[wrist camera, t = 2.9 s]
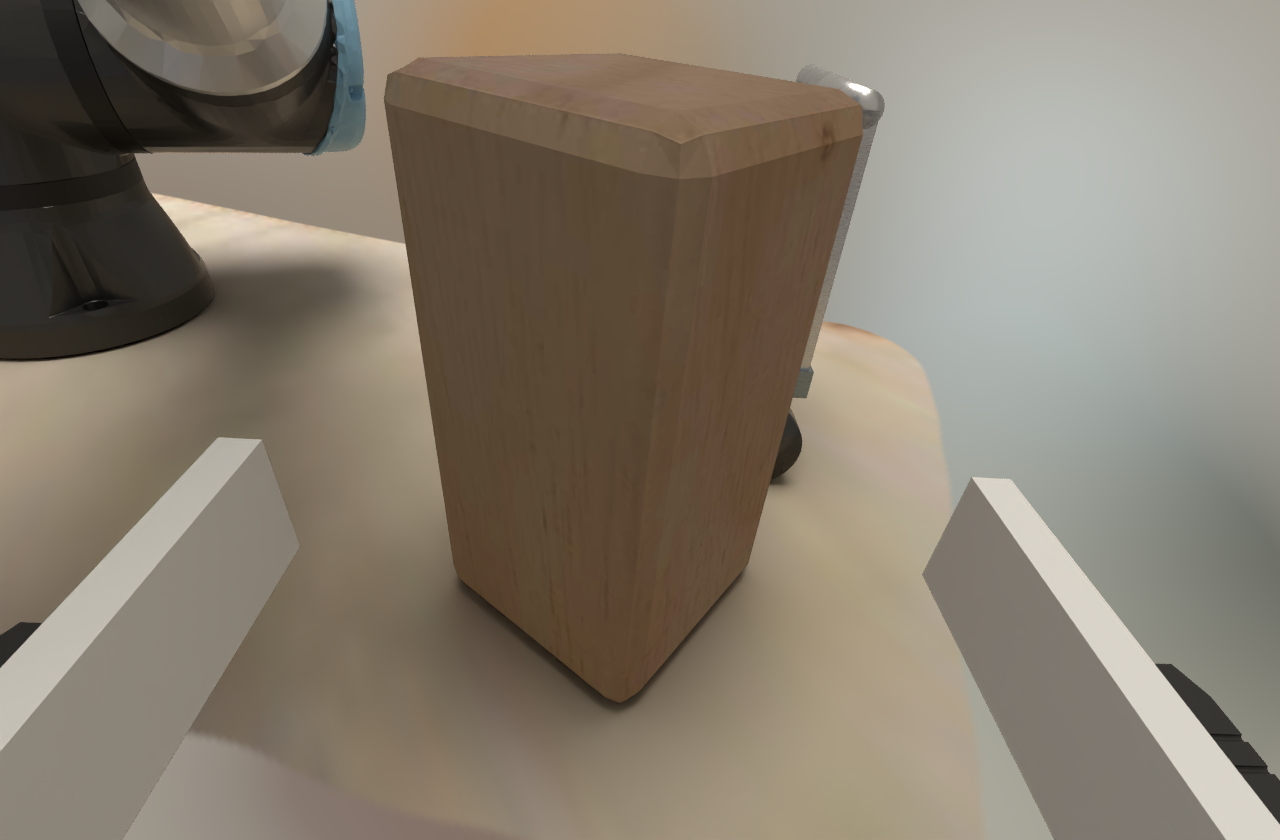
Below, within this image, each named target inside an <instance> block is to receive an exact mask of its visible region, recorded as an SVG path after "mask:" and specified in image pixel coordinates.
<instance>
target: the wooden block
mask: <svg viewBox="0 0 1280 840" xmlns="http://www.w3.org/2000/svg"><path fill="white" fill-rule="evenodd" d="M384 103H385V109H386V116H387V123H388V130H389V136H390V143H391V149H392V156H393V163H394V170H395V176H396V183H397V189H398V196H399V202H400V209H401V216H402V223H403V229H404V236H405V242H406V250H407V256H408V263H409V269H410V276H411V283H412V289H413V296H414V303H415V309H416V316H417V323H418V329H419V336H420V343H421V349H422V356H423V363H424V369H425V376H426V383H427V389H428V396H429V403H430V409H431V416H432V423H433V429H434V436H435V443H436V449H437V456H438V463H439V469H440V476H441V483H442V489H443V496H444V502H445V509H446V516H447V522H448V529H449V536H450V542H451V549H452V556H453V562H454V566H455V569H456V571H457V574H458V576H459V578H460V579H461V580H462V581H463V582H465V583H466V584H467V585H468V586H469V587H470V588H472V589H473V590H474V591H475V592H477V593H478V594H479V595H480V596H481V597H483V598H484V599H485V600H486V601H488V602H489V603H490V604H491V605H492V606H494V607H495V608H496V609H497V610H499V611H500V612H501V613H502V614H504V615H505V616H506V617H507V618H508V619H510V620H511V621H512V622H513V623H515V624H516V625H517V626H518V627H519V628H521V629H522V630H523V631H524V632H526V633H527V634H528V635H529V636H530V637H532V638H533V639H534V640H535V641H537V642H538V643H539V644H540V645H542V646H543V647H544V648H545V649H546V650H548V651H549V652H550V653H551V654H553V655H554V656H555V657H556V658H557V659H559V660H560V661H561V662H562V663H564V664H565V665H566V666H567V667H569V668H570V669H571V670H572V671H573V672H575V673H576V674H577V675H578V676H580V677H581V678H582V679H583V680H584V681H586V682H587V683H588V684H589V685H591V686H592V687H593V688H594V689H596V690H597V691H598V692H599V693H600V694H602V695H603V696H604V697H605V698H607V699H610V700H613V701H615V702H618V703H622V702H624V701H625V700H627V699H629V698H630V697H632V696H633V695H635V694H636V693H638V692H639V691H640V690H641V689H642V688H643V687H644V686H645V684H646V683H647V682H648V681H649V680H650V678H651V677H652V676H653V675H654V674H655V673H656V671H657V670H658V669H659V668H660V667H661V666H662V664H663V663H664V662H665V661H666V660H667V658H668V657H669V656H670V655H671V654H672V653H673V651H674V650H675V649H676V648H677V647H678V646H679V644H680V643H681V642H682V641H683V640H684V638H685V637H686V636H687V635H688V634H689V633H690V631H691V630H692V629H693V628H694V627H695V626H696V624H697V623H698V622H699V621H700V620H701V619H702V617H703V616H704V615H705V614H706V613H707V611H708V610H709V609H710V608H711V607H712V606H713V604H714V603H715V602H716V601H717V600H718V599H719V597H720V596H721V595H722V594H723V593H724V591H725V590H726V589H727V588H728V587H729V586H730V584H731V583H732V582H733V581H734V580H735V579H736V577H737V576H738V575H739V574H740V573H741V571H742V570H743V569H744V568H745V567H746V566H747V564H748V562H749V558H750V554H751V551H752V547H753V543H754V539H755V536H756V532H757V528H758V525H759V521H760V517H761V513H762V510H763V506H764V502H765V498H766V495H767V491H768V487H769V484H770V480H771V476H772V472H773V469H774V465H775V461H776V457H777V454H778V450H779V446H780V442H781V439H782V435H783V431H784V428H785V424H786V420H787V416H788V413H789V409H790V405H791V401H792V398H793V394H794V390H795V387H796V383H797V379H798V375H799V372H800V368H801V364H802V360H803V357H804V353H805V349H806V346H807V342H808V338H809V334H810V331H811V327H812V323H813V319H814V316H815V312H816V308H817V304H818V301H819V297H820V293H821V290H822V286H823V282H824V278H825V275H826V271H827V267H828V263H829V260H830V256H831V252H832V249H833V245H834V241H835V237H836V234H837V230H838V226H839V222H840V219H841V215H842V211H843V207H844V204H845V200H846V196H847V193H848V189H849V185H850V181H851V178H852V174H853V170H854V166H855V163H856V159H857V155H858V152H859V148H860V144H861V140H862V137H863V128H862V107H861V105H860V104H859V103H857V102H856V101H855V100H853V99H852V98H851V97H849V96H848V95H847V94H845V93H844V92H843V91H841V90H840V89H836V88H830V87H824V86H817V85H811V84H805V83H799V82H792V81H786V80H780V79H773V78H768V77H762V76H755V75H749V74H743V73H737V72H730V71H725V70H718V69H712V68H706V67H699V66H693V65H687V64H681V63H675V62H669V61H662V60H657V59H650V58H644V57H638V56H632V55H626V54H574V55H573V54H572V55H528V56H527V55H526V56H480V57H431V58H418V59H416V60H414V61H413V62H411V63H410V64H408V65H406V66H405V67H403V68H401V69H399V70H397V71H394V72H392V73H390V74H388V76H387V82H386V89H385V96H384Z"/></svg>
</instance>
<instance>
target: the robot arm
mask: <svg viewBox="0 0 1280 840" xmlns="http://www.w3.org/2000/svg"><path fill="white" fill-rule="evenodd" d="M363 77H364V69H363V59H362V49H361V42H360V33H359V27H358V19H357V14H356V8H355V2H354V0H0V358H19V359H22V358H45V357H56V356H65V355H73V354H80V353H86V352H92V351H97V350H102V349H107V348H111V347H115V346H120V345H123V344H127V343H131V342H134V341H138V340H141V339H144V338H147V337H150V336H153V335H156V334H159V333H161V332H164V331H166V330H169V329H171V328H173V327H175V326H177V325H179V324H181V323H183V322H185V321H187V320H189V319H190V318H192V317H194V316H195V315H197V314H198V313H199V312H201V311H202V310H203V309H204V308H205V307H206V306H207V305H208V304H209V303H210V301H211V300H212V298H213V295H214V288H213V285H212V283H211V280H210V277H209V274H208V271H207V268H206V266H205V264H204V262H203V260H202V258H201V257H200V256H199V255H198V254H197V253H196V252H195V251H194V250H193V249H192V248H191V247H190V246H189V244H188V243H187V241H186V240H185V238H184V237H183V236H182V234H181V233H180V231H179V230H178V229H177V227H176V226H175V224H174V223H173V222H172V220H171V219H170V218H169V216H168V215H167V214H166V212H165V211H164V210H163V209H162V207H161V206H160V205H159V203H158V202H157V201H156V200H155V198H154V197H153V196H152V194H151V193H150V191H149V190H148V188H147V186H146V184H145V181H144V179H143V176H142V174H141V171H140V168H139V166H138V163H137V161H136V158H135V156H134V153H303V154H304V155H307V156H308V155H312V156H314V155H320V154H322V153H323V152H338V151H348V150H351V149H353V148H355V147H356V146H357V145H358V144H359V143H360V142H361V140H362V138H363V135H364V131H365V120H366V118H365V117H366V105H365V94H364V89H363V83H364V80H363ZM299 548H300V545H299V542H298V539H297V536H296V534H295V531H294V528H293V525H292V522H291V519H290V517H289V514H288V511H287V508H286V505H285V503H284V500H283V497H282V494H281V491H280V489H279V486H278V483H277V480H276V477H275V474H274V472H273V469H272V466H271V463H270V460H269V458H268V455H267V452H266V449H265V446H264V443H263V441H262V440H261V439H242V438H223V437H218V438H217V439H216V440H215V441H214V442H213V443H212V444H211V445H210V446H209V447H208V448H207V450H206V451H205V452H204V453H203V454H202V455H201V456H200V457H199V458H198V459H197V460H196V461H195V462H194V463H193V464H192V465H191V467H190V468H189V469H188V470H187V471H186V472H185V473H184V474H183V475H182V476H181V477H180V478H179V479H178V480H177V481H176V482H175V483H174V485H173V486H172V487H171V488H170V489H169V490H168V491H167V492H166V493H165V494H164V495H163V496H162V497H161V498H160V499H159V500H158V501H157V503H156V504H155V505H154V506H153V507H152V508H151V509H150V510H149V511H148V512H147V513H146V514H145V515H144V516H143V517H142V518H141V519H140V521H139V522H138V523H137V524H136V525H135V526H134V527H133V528H132V529H131V530H130V531H129V532H128V533H127V534H126V535H125V536H124V538H123V539H122V540H121V541H120V542H119V543H118V544H117V545H116V546H115V547H114V548H113V549H112V550H111V551H110V552H109V553H108V554H107V556H106V557H105V558H104V559H103V560H102V561H101V562H100V563H99V564H98V565H97V566H96V567H95V568H94V569H93V570H92V571H91V572H90V574H89V575H88V576H87V577H86V578H85V579H84V580H83V581H82V582H81V583H80V584H79V585H78V586H77V587H76V588H75V589H74V590H73V592H72V593H71V594H70V595H69V596H68V597H67V598H66V599H65V600H64V601H63V602H62V603H61V604H60V605H59V606H58V607H57V609H56V610H55V611H54V612H53V613H52V614H51V615H50V616H49V617H48V618H47V619H46V620H45V621H44V622H43V623H26V622H20V623H19V624H17V625H16V626H14V627H13V628H11V629H10V630H8V631H7V632H5V633H4V634H2V635H1V636H0V840H122V839H123V838H124V836H125V834H126V833H127V831H128V829H129V828H130V826H131V824H132V823H133V821H134V819H135V818H136V816H137V814H138V813H139V811H140V810H141V808H142V806H143V805H144V803H145V801H146V799H147V798H148V796H149V795H150V793H151V792H152V790H153V788H154V787H155V785H156V783H157V782H158V780H159V778H160V777H161V775H162V773H163V772H164V770H165V768H166V767H167V765H168V763H169V762H170V760H171V759H172V757H173V755H174V754H175V752H176V750H177V749H178V747H179V745H180V744H181V742H182V740H183V739H184V737H185V736H186V734H187V732H188V731H189V729H190V727H191V726H192V724H193V722H194V721H195V719H196V717H197V716H198V714H199V712H200V711H201V709H202V708H203V706H204V704H205V703H206V701H207V699H208V698H209V696H210V694H211V693H212V691H213V689H214V688H215V686H216V684H217V683H218V681H219V680H220V678H221V676H222V675H223V673H224V671H225V670H226V668H227V666H228V665H229V663H230V661H231V660H232V658H233V656H234V655H235V653H236V651H237V650H238V648H239V647H240V645H241V643H242V642H243V640H244V638H245V637H246V635H247V633H248V632H249V630H250V628H251V627H252V625H253V623H254V622H255V620H256V619H257V617H258V615H259V614H260V612H261V610H262V609H263V607H264V605H265V604H266V602H267V600H268V599H269V597H270V595H271V594H272V592H273V591H274V589H275V587H276V586H277V584H278V582H279V581H280V579H281V577H282V576H283V574H284V572H285V571H286V569H287V567H288V566H289V564H290V563H291V561H292V559H293V558H294V556H295V554H296V553H297V551H298V549H299ZM922 575H923V577H924V579H925V581H926V583H927V585H928V587H929V589H930V591H931V593H932V595H933V597H934V599H935V601H936V603H937V605H938V607H939V609H940V611H941V613H942V615H943V617H944V619H945V621H946V623H947V625H948V627H949V629H950V631H951V633H952V635H953V637H954V639H955V641H956V643H957V645H958V647H959V649H960V651H961V653H962V655H963V657H964V659H965V661H966V663H967V665H968V667H969V669H970V671H971V673H972V675H973V677H974V679H975V681H976V683H977V685H978V687H979V689H980V691H981V693H982V696H983V698H984V700H985V702H986V704H987V706H988V708H989V709H990V712H991V713H992V715H993V717H994V719H995V722H996V723H997V725H998V728H999V729H1000V732H1001V734H1002V735H1003V737H1004V740H1005V742H1006V744H1007V746H1008V748H1009V750H1010V752H1011V754H1012V756H1013V758H1014V760H1015V762H1016V764H1017V766H1018V768H1019V770H1020V772H1021V773H1022V776H1023V778H1024V780H1025V782H1026V784H1027V786H1028V788H1029V790H1030V792H1031V794H1032V796H1033V798H1034V800H1035V802H1036V804H1037V806H1038V808H1039V810H1040V812H1041V814H1042V816H1043V818H1044V820H1045V822H1046V824H1047V826H1048V828H1049V830H1050V832H1051V834H1052V836H1053V838H1054V840H1280V780H1279V779H1278V778H1277V777H1276V775H1275V774H1270V773H1269V772H1268V770H1267V767H1268V766H1267V765H1266V763H1265V762H1264V761H1263V760H1262V759H1261V757H1260V756H1259V755H1258V754H1257V752H1256V751H1255V750H1254V749H1253V748H1252V746H1251V745H1250V744H1249V743H1248V742H1244V741H1243V740H1242V738H1241V735H1242V734H1241V733H1240V732H1239V731H1238V729H1237V728H1236V727H1235V726H1234V725H1233V723H1232V722H1231V721H1230V720H1229V718H1228V717H1227V716H1226V715H1225V714H1224V712H1223V711H1222V710H1221V709H1220V707H1219V706H1218V705H1217V704H1216V703H1215V701H1214V700H1213V699H1212V698H1211V697H1210V696H1209V695H1208V694H1207V693H1206V692H1204V691H1203V690H1202V689H1201V688H1199V687H1198V686H1197V685H1196V684H1195V683H1193V682H1192V681H1191V680H1190V679H1188V678H1187V677H1186V676H1185V675H1184V674H1183V673H1181V672H1180V671H1179V670H1178V669H1177V668H1175V667H1174V666H1173V665H1172V664H1154V663H1153V661H1152V660H1151V659H1150V658H1149V656H1148V655H1147V654H1146V652H1145V651H1144V650H1143V648H1142V647H1141V646H1140V645H1139V643H1138V642H1137V641H1136V640H1135V638H1134V637H1133V636H1132V634H1131V633H1130V632H1129V631H1128V629H1127V628H1126V627H1125V626H1124V624H1123V623H1122V622H1121V620H1120V619H1119V618H1118V617H1117V615H1116V614H1115V613H1114V611H1113V610H1112V609H1111V607H1110V606H1109V605H1108V604H1107V602H1106V601H1105V600H1104V598H1103V597H1102V596H1101V595H1100V593H1099V592H1098V591H1097V589H1096V588H1095V587H1094V586H1093V584H1092V583H1091V582H1090V581H1089V579H1088V578H1087V577H1086V575H1085V574H1084V573H1083V572H1082V570H1081V569H1080V568H1079V566H1078V565H1077V564H1076V562H1075V561H1074V560H1073V559H1072V557H1071V556H1070V555H1069V554H1068V552H1067V551H1066V550H1065V548H1064V547H1063V546H1062V545H1061V543H1060V542H1059V541H1058V539H1057V538H1056V537H1055V536H1054V535H1053V533H1052V532H1051V530H1050V529H1049V528H1048V527H1047V525H1046V524H1045V523H1044V521H1043V520H1042V519H1041V518H1040V516H1039V515H1038V514H1037V512H1036V511H1035V510H1034V509H1033V508H1032V506H1031V505H1030V504H1029V502H1028V501H1027V500H1026V498H1025V497H1024V496H1023V494H1022V493H1021V492H1020V491H1019V490H1018V488H1017V487H1016V486H1015V484H1014V483H1013V482H1012V480H1011V479H997V478H978V477H972V478H971V479H970V481H969V483H968V485H967V487H966V489H965V491H964V493H963V495H962V497H961V499H960V501H959V503H958V505H957V507H956V509H955V511H954V513H953V515H952V517H951V519H950V521H949V523H948V525H947V527H946V529H945V531H944V533H943V535H942V536H941V538H940V540H939V542H938V544H937V546H936V548H935V550H934V552H933V554H932V556H931V558H930V560H929V562H928V564H927V566H926V568H925V570H924V572H923V574H922Z"/></svg>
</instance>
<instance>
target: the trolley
mask: <svg viewBox="0 0 1280 840" xmlns="http://www.w3.org/2000/svg"><path fill="white" fill-rule="evenodd" d="M796 82H799V83H805V84H811V85H817V86H824V87H830V88H836V89H840V90H841V91H843V92H844V93H845V94H847V95H848V96H849V97H851V98H852V99H853V100H855V101H856V102H857V103H859V104H860V105H861V107H862V128H863V137H862V140H861V144H860V148H859V152H858V155H857V159H856V163H855V166H854V170H853V174H852V178H851V181H850V185H849V189H848V193H847V196H846V200H845V204H844V207H843V211H842V215H841V219H840V222H839V226H838V230H837V234H836V237H835V241H834V245H833V249H832V252H831V256H830V260H829V263H828V267H827V271H826V275H825V278H824V282H823V286H822V290H821V293H820V297H819V301H818V304H817V308H816V312H815V316H814V319H813V323H812V327H811V331H810V334H809V338H808V342H807V346H806V349H805V353H804V357H803V360H802V364H801V368H800V372H799V375H798V379H797V383H796V387H795V390H794V394H793V397H794V398H807V394H808V391H809V387H810V383H811V380H812V376H813V373H814V372H813V370H812V367H811V365H810V364H811V361H812V357H813V354H814V350H815V346H816V343H817V339H818V336H819V332H820V329H821V325H822V321H823V318H824V314H825V311H826V307H827V303H828V300H829V296H830V292H831V289H832V286H833V282H834V278H835V275H836V271H837V268H838V264H839V260H840V257H841V253H842V250H843V246H844V242H845V239H846V235H847V231H848V228H849V225H850V221H851V217H852V213H853V210H854V207H855V203H856V199H857V196H858V192H859V189H860V185H861V182H862V177H863V174H864V171H865V167H866V164H867V160H868V156H869V153H870V149H871V146H872V142H873V138H874V135H875V131H876V127H877V124H878V121H879V119H880V118H881V116H882V114H883V111H884V100H883V97H882V96H881V94H880V93H878V92H876V91H875V90H872V89H870V88H868V87H865V86H863V85H861V84H858V83H856V82H854V81H851V80H849V79H847V78H844V77H842V76H840V75H837V74H835V73H833V72H830V71H828V70H826V69H823V68H821V67H818V66H816V65H807V66H805V67H804V68H803V69H802V70H800V72H799V73H798V76H797V79H796ZM801 448H802V437H801V433H800V430H799V427H798V425H797V422H796V419H795V417H794V414H793V412H792V410H791V409H789V413H788V416H787V420H786V424H785V428H784V431H783V435H782V439H781V442H780V446H779V450H778V454H777V457H776V461H775V465H774V469H773V472H772V476H771V479H774V478H776V477H778V476H780V475H781V474H783V473H784V472H786V471H787V470H788V469H789V468H790V467H791V466H792V465H793V464H794V463H795V461H796V460H797V458H798V456H799V454H800V452H801Z"/></svg>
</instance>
